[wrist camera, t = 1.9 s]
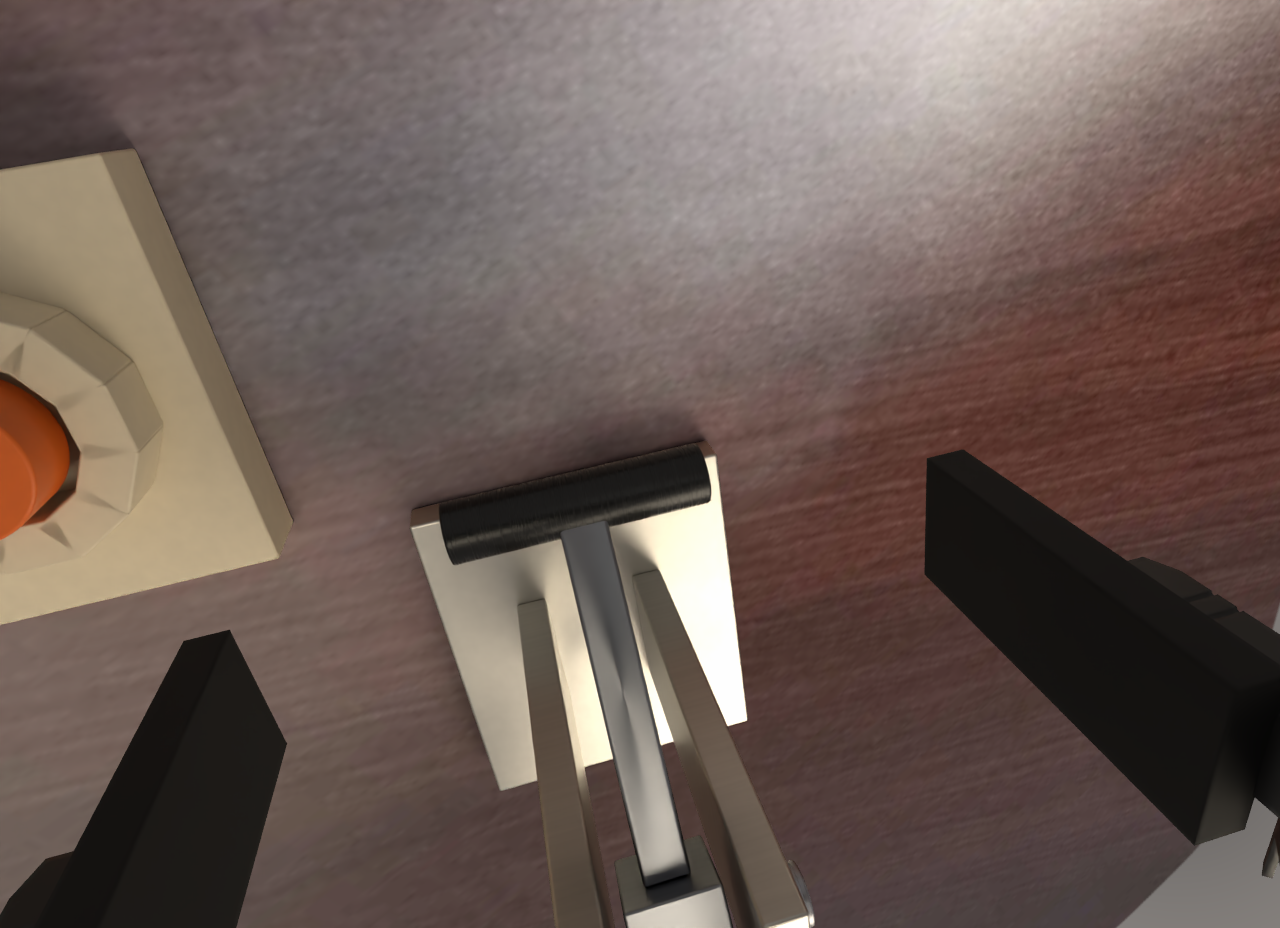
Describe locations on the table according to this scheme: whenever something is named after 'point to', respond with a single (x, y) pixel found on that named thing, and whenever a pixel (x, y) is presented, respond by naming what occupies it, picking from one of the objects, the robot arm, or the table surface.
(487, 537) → the lever
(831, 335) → the table surface
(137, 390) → the control block
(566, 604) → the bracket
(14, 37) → the table surface
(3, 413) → the button
